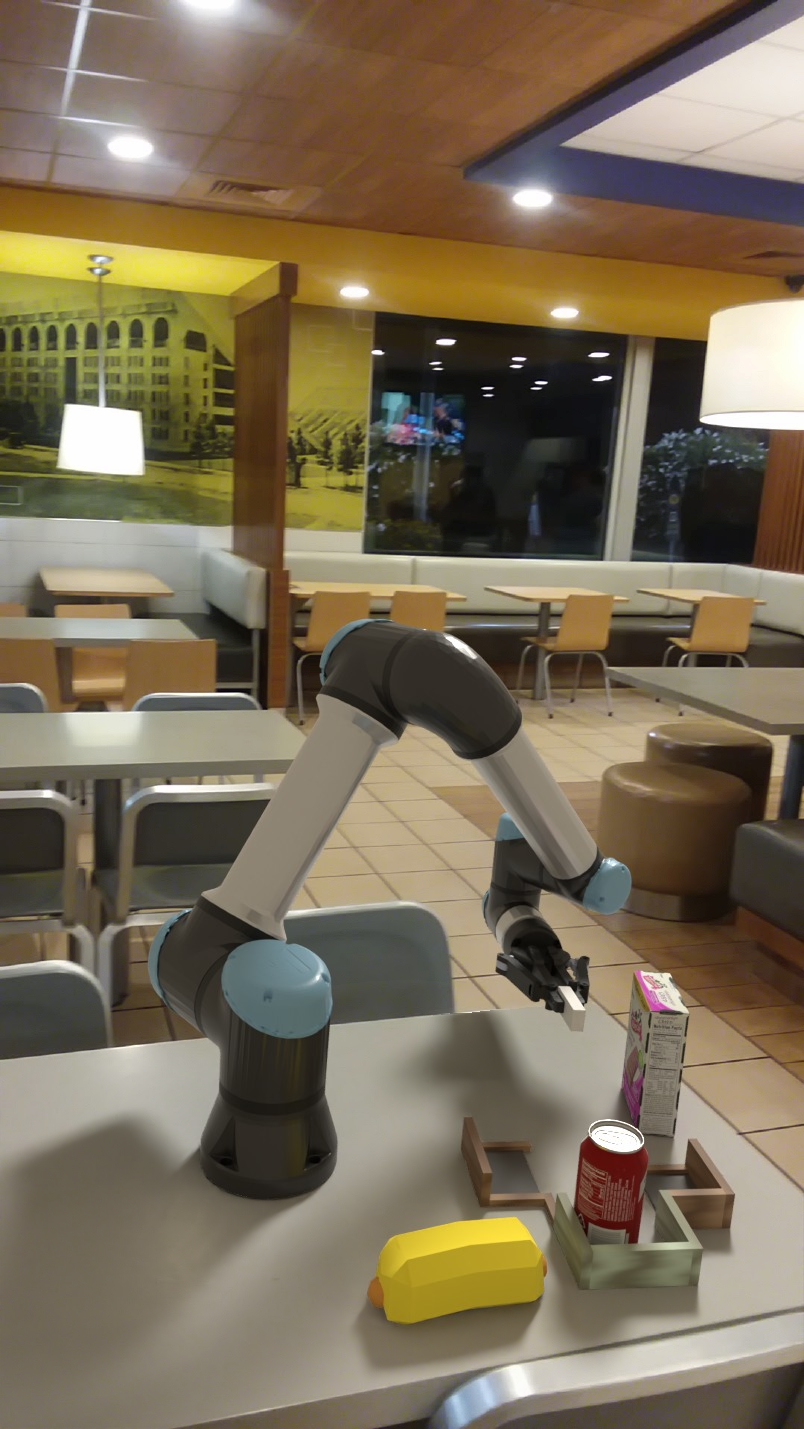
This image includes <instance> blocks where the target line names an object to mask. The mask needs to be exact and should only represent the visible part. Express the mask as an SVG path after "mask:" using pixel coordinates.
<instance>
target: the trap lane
mask: <svg viewBox="0 0 804 1429" xmlns="http://www.w3.org/2000/svg"><path fill="white" fill-rule="evenodd" d="M460 1149H461V1153H462V1156H463V1160H464V1162H465V1165H466V1168H467V1172H468V1175H469V1178H470V1181H471V1183H472V1187H473V1190H474V1193H475V1196H476V1199H477V1202H478V1205H479V1208H497V1207H498V1208H501V1207H503V1208H505V1207H535V1206H544V1209H545V1211H546V1214H547V1217H548V1218H549V1221H550V1223H551V1226H552V1228H553V1230H554V1233H555V1235H556V1238H557V1240H558V1243H559V1246H560V1247H561V1250H562V1252H563V1255H564V1256H565V1259H566V1261H567V1262H566V1263H567V1264H568V1266H569V1269H570V1272H571V1274H572V1276H573V1278H574V1280H575V1284H576V1285H577V1288H578V1290H583V1291H584V1290H604V1289H606V1290H609V1289H630V1288H634V1289H635V1288H654V1287H655V1288H656V1287H678V1286H679V1287H680V1286H683V1287H684V1286H698V1285H699V1281H700V1275H701V1266H702V1261H703V1255H704V1254H703V1252H704V1248H703V1246H702V1244H701V1243H700V1242H701V1241H699V1239H698V1237H697V1236H696V1234H695V1233H694V1230H713V1229H715V1230H716V1229H717V1230H718V1229H731V1225H732V1218H733V1212H734V1206H735V1205H734V1204H735V1198H736V1193H735V1191H734V1190H733V1189H732V1187H731V1186H730V1184H729V1183H728V1181H727V1180H726V1178H725V1177H724V1176H723V1174H722V1173H721V1172H720V1170H719V1169H718V1167H717V1165H716V1164H715V1163H714V1162H713V1160H712V1159H711V1157H710V1156H709V1154H708V1153H707V1151H706V1150H705V1149H704V1147H703V1146H702V1144H701V1143H700V1142H699V1140H698V1138H688V1139H687V1146H686V1153H685V1160H684V1163H671V1164H670V1163H669V1164H665V1163H664V1164H648V1168H647V1175H646V1183H645V1191H644V1193H645V1195H646V1196H647V1197H648V1199H649V1201H650V1203H651V1204H652V1206H653V1209H654V1210H655V1216H654V1224H653V1225H654V1226H655V1228H656V1229H657V1231H658V1233H659V1235H660V1236H661V1238H662V1241H663V1242H648V1243H647V1242H645V1243H643V1242H641V1243H639V1242H638V1244H609V1245H590V1244H589V1241H588V1239H587V1237H586V1235H585V1233H584V1230H583V1228H582V1226H581V1224H580V1222H579V1219H578V1217H577V1215H576V1213H575V1210H574V1208H573V1204H572V1202H571V1199H570V1197H569V1195H568V1193H567V1192H556V1198H554V1196H553V1193H552V1192H541V1191H540V1190H539V1187H538V1184H537V1181H536V1180H535V1177H534V1175H533V1172H532V1170H531V1168H530V1165H529V1162H528V1161H527V1158H526V1155H525V1154H524V1153H531V1151H532V1145H531V1142H530V1141H529V1140H516V1141H515V1140H513V1141H509V1140H507V1141H502V1140H501V1141H482V1139H481V1137H480V1135H479V1132H478V1129H477V1126H476V1123H475V1121H474V1118H473V1116H463V1122H462V1133H461V1145H460Z"/></svg>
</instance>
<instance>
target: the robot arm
mask: <svg viewBox="0 0 804 1429" xmlns="http://www.w3.org/2000/svg"><path fill="white" fill-rule="evenodd" d="M319 668H320V669H321V673H319V678H320V683H321V685H322V687H321V688H320V690H319V692H318V694H317V695H316V697H315V700H316V703H317V707H318V710H319V715H318V718H317V720H316V721H315V723H314V724H313V726H312V728H311V729H310V732H309V733H308V735H307V737H306V738H305V740H304V742H303V743H302V745H301V747H300V749H299V750H298V752H297V754H296V756H295V757H294V759H293V760H292V762H291V764H290V766H289V767H288V769H287V771H286V773H285V774H284V776H283V778H282V780H281V782H280V783H279V784H278V786H277V788H276V790H275V792H274V793H273V795H272V797H271V798H270V800H269V802H268V803H267V806H266V807H265V809H264V810H263V813H262V814H261V816H260V817H259V819H258V821H257V823H256V824H255V826H254V827H253V829H252V831H251V833H250V835H249V836H248V838H247V839H246V842H245V843H244V845H243V846H242V848H241V850H240V852H239V853H238V855H237V857H236V859H235V860H234V862H233V864H232V866H231V867H230V869H229V871H227V872H228V873H227V874H226V876H225V877H224V879H223V881H222V883H220V885H219V886H217V887H216V888H212V889H208V890H204V891H203V892H201V894H200V895H199V897H198V899H197V901H196V902H195V904H194V906H193V908H187V909H186V908H185V909H183V910H181V911H180V913H178V914H173V915H172V916H170V917H169V918H168V919H167V920H165V922H164V923H162V925H161V926H160V927H159V929H158V930H157V932H156V934H155V936H154V937H153V939H152V942H151V945H150V948H149V952H148V958H147V971H148V976H149V981H150V983H151V985H152V986H151V987H152V988H153V989H154V991H155V992H156V994H157V995H158V996H159V998H160V999H161V1000H162V1001H163V1002H164V1004H165V1005H166V1006H167V1007H168V1008H169V1010H170V1011H171V1012H173V1013H174V1014H176V1015H178V1016H180V1017H181V1018H183V1019H184V1020H185V1021H186V1022H188V1024H190V1025H191V1026H192V1027H194V1029H196V1030H197V1031H198V1032H199V1033H201V1034H202V1035H203V1036H204V1037H206V1038H207V1039H208V1040H209V1041H211V1042H212V1043H213V1044H214V1045H215V1046H217V1048H218V1049H219V1053H220V1054H219V1078H218V1080H219V1082H218V1093H217V1096H216V1098H215V1100H214V1103H213V1106H212V1108H211V1111H210V1113H209V1116H208V1119H207V1120H206V1124H205V1126H204V1129H203V1131H202V1134H201V1138H200V1144H199V1145H200V1149H199V1164H200V1168H201V1170H202V1172H203V1173H204V1175H205V1177H206V1178H207V1179H208V1180H209V1181H210V1182H211V1183H212V1184H214V1185H215V1186H217V1187H218V1188H220V1189H222V1190H224V1192H225V1191H226V1192H228V1193H230V1194H233V1195H237V1196H239V1197H245V1198H249V1199H257V1200H277V1199H286V1198H290V1197H295V1196H299V1195H302V1194H305V1193H307V1192H310V1191H311V1190H313V1189H315V1188H317V1187H319V1186H321V1184H323V1183H324V1182H325V1181H326V1180H328V1179H329V1177H330V1176H331V1175H332V1173H333V1172H334V1171H335V1169H336V1166H337V1159H338V1145H339V1144H338V1143H339V1142H338V1135H337V1134H338V1133H337V1131H336V1128H335V1123H334V1120H333V1117H332V1113H331V1110H330V1106H329V1103H328V1100H327V1096H326V1086H327V1085H326V1084H327V1081H326V1079H327V1071H328V1069H327V1068H328V1057H329V1056H328V1055H329V1041H330V1031H331V1030H330V1028H331V1018H332V1017H331V1015H332V1010H333V1003H334V1002H333V995H332V978H331V974H330V971H329V969H328V967H327V965H326V963H325V962H324V960H323V959H322V958H320V957H319V956H318V954H316V953H315V952H314V951H311V950H310V949H309V948H306V947H305V946H303V945H300V944H297V943H290V944H288V943H287V941H288V939H287V934H286V931H285V927H284V920H285V918H286V916H287V915H288V914H289V911H290V909H291V908H292V906H293V905H294V902H295V900H296V898H298V895H299V894H300V891H301V890H302V888H303V887H304V885H305V883H306V881H307V879H308V877H309V876H310V874H311V872H312V870H313V869H314V866H315V865H316V863H317V861H318V859H319V858H320V856H321V854H322V853H323V851H324V849H325V848H326V845H327V844H328V842H329V840H330V839H331V837H332V835H333V833H334V831H336V830H335V829H337V826H338V824H339V822H340V821H341V819H342V818H343V817H344V816H343V815H345V812H346V811H347V809H348V807H349V804H350V803H351V801H352V800H353V798H354V797H355V796H354V795H355V794H356V792H357V790H358V789H359V787H360V785H361V784H362V782H363V780H364V778H365V776H366V774H368V772H369V770H370V768H371V766H372V764H373V762H375V759H376V757H377V756H378V753H379V752H380V751H381V750H382V749H385V748H388V747H392V746H395V745H398V743H399V741H400V739H402V738H401V737H402V736H403V734H404V733H405V731H406V729H407V727H408V725H412V726H417V727H420V728H422V729H424V730H426V731H429V732H430V733H431V734H433V735H435V736H437V737H439V738H440V739H441V740H443V741H444V742H445V743H446V744H447V745H448V747H449V748H450V749H451V750H452V752H453V754H455V756H457V758H459V759H461V760H463V761H466V762H467V761H468V762H471V764H472V766H473V767H474V768H475V770H476V771H477V773H478V775H480V777H481V778H482V781H484V783H485V784H486V785H487V786H488V788H489V790H490V791H491V793H492V794H493V795H494V797H495V798H496V799H497V801H498V803H500V805H501V806H502V808H503V809H504V811H505V812H503V813H502V814H501V815H500V817H499V818H498V823H497V828H496V834H495V838H494V847H493V848H494V849H493V856H492V858H493V859H492V869H491V879H490V884H489V888H488V889H487V890H486V892H485V893H484V895H483V898H482V900H481V912H482V916H483V919H484V923H485V925H486V927H488V930H489V931H490V932H491V934H492V935H493V937H494V939H495V940H496V942H497V943H498V945H499V948H501V950H502V952H498V953H496V962H495V973H497V974H499V976H503V977H504V978H506V979H507V980H508V981H509V982H510V983H511V984H512V985H514V986H515V988H516V989H518V990H519V991H520V992H521V993H522V994H523V995H524V996H525V997H526V998H527V999H528V1000H530V1001H531V1002H533V1003H539V1002H540V1001H541V1000H543V1001H544V1003H545V1005H544V1009H545V1010H546V1011H549V1012H550V1011H551V1012H552V1011H553V1013H556V1014H560V1016H561V1017H562V1019H563V1021H564V1022H565V1023H566V1026H567V1027H568V1029H569V1030H570V1031H571V1032H578V1033H579V1032H581V1033H582V1032H584V1028H585V1019H586V1011H587V1010H586V1008H585V1005H586V1004H588V1002H589V994H590V987H591V986H590V985H591V984H590V983H591V982H590V979H589V970H590V968H589V966H590V959H591V958H590V957H589V956H587V955H581V956H580V957H575V958H571V957H572V956H571V954H570V953H569V952H568V951H566V950H564V948H563V946H562V943H561V940H560V938H559V937H558V935H557V933H556V932H555V931H554V930H553V928H552V926H551V925H550V924H549V923H548V921H547V920H546V918H545V917H544V915H543V913H541V912H540V903H541V902H540V901H541V895H542V891H545V892H547V893H549V894H551V895H553V896H556V897H558V898H560V899H563V900H564V901H567V902H570V903H571V904H574V905H577V906H578V907H581V908H583V909H584V910H585V911H592V912H595V913H597V914H600V915H603V916H609V915H612V914H613V915H614V914H615V913H617V912H618V911H620V909H622V907H623V905H624V904H625V902H626V901H627V899H628V898H629V896H630V894H631V889H632V875H631V871H630V869H629V868H628V867H627V865H625V864H624V863H622V862H619V861H618V860H616V859H615V858H614V857H607V856H605V855H604V854H603V852H602V850H600V848H599V846H598V845H597V843H596V842H595V840H594V838H593V837H592V835H591V834H590V833H589V831H588V829H587V828H586V826H585V824H584V823H583V822H582V820H581V818H580V816H579V815H578V813H577V812H576V810H575V809H574V807H573V806H572V804H571V803H570V800H569V799H568V798H567V796H566V794H565V792H564V791H563V789H562V788H561V787H560V785H559V784H558V782H557V780H556V779H555V778H554V776H553V774H552V772H551V770H549V768H548V766H547V765H546V763H545V761H544V760H543V758H542V757H541V755H540V753H539V752H538V750H537V748H536V747H535V745H534V744H533V743H532V740H531V739H530V737H529V735H528V734H527V733H526V731H525V729H524V728H523V724H524V723H523V722H524V714H523V712H522V709H521V708H520V706H519V705H518V702H517V701H516V699H515V698H514V697H513V695H512V693H511V692H510V690H509V689H508V688H507V686H506V684H504V682H503V681H502V679H501V678H500V677H499V675H498V674H497V673H496V672H495V670H493V668H492V667H491V666H490V664H488V663H487V661H485V659H483V657H482V656H481V655H480V654H478V653H477V651H475V650H474V649H473V648H472V647H471V646H469V645H468V644H467V643H466V642H464V641H463V640H461V639H459V638H458V637H456V636H454V635H452V634H450V633H447V632H444V631H440V630H439V631H438V630H434V629H432V630H431V629H427V628H423V627H416V626H412V625H407V624H402V623H398V622H397V621H394V620H390V619H386V618H385V619H384V618H378V619H377V618H376V619H373V618H372V619H371V618H363V619H362V618H361V619H357V620H354V621H350V622H349V623H347V624H346V625H343V626H342V627H340V628H339V629H338V630H337V631H336V632H334V633H333V635H332V636H331V638H330V639H329V640H328V642H326V645H325V647H324V648H323V651H322V653H321V657H320V661H319ZM569 968H570V970H571V971H572V972H573V973H572V976H573V977H575V978H574V979H573V977H572V976H571V974H570V973H569V971H568V969H569Z"/></svg>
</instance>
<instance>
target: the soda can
mask: <svg viewBox="0 0 804 1429" xmlns="http://www.w3.org/2000/svg"><path fill="white" fill-rule="evenodd" d="M587 1131H588V1132H587V1134H586V1135H585V1136H584V1138H582V1140H581V1142H580V1144H579V1145H580V1146H579V1152H578V1153H579V1154H578V1163H577V1170H576V1171H577V1173H576V1180H575V1189H574V1197H573V1204H572V1206H573V1208H574V1210H575V1213H576V1215H577V1217H578V1219H579V1222H580V1224H581V1226H582V1228H583V1230H584V1233H585V1235H586V1237H587V1239H588V1241H589V1244H590V1245H609V1244H639V1238H640V1230H641V1222H642V1221H641V1220H642V1215H643V1206H644V1197H645V1183H646V1175H647V1168H648V1165H649V1158H650V1157H649V1153H648V1151H647V1149H646V1148H645V1145H644V1144H645V1138H644V1135H642V1134H641V1132H640V1131H639V1130H637V1129H636V1128H635V1126H633V1125H631V1124H629V1123H627V1122H624V1121H620V1120H617V1119H616V1120H615V1119H601V1120H598V1121H595V1122H593V1123H592V1124H590V1126H589V1128H588V1130H587Z"/></svg>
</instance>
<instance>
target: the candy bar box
mask: <svg viewBox="0 0 804 1429" xmlns="http://www.w3.org/2000/svg"><path fill="white" fill-rule="evenodd" d="M630 993H631V994H630V1004H629V1010H628V1011H629V1012H628V1021H627V1022H628V1024H627V1025H628V1026H627V1031H626V1032H627V1033H626V1042H625V1050H624V1061H623V1069H622V1078H621V1084H620V1085H621V1089H622V1093H623V1095H624V1098H625V1101H626V1103H627V1107H628V1110H629V1112H630V1117H631V1120H632V1122H633V1125H634V1126H633V1127H635V1128H636V1129H637V1130H639V1131H640V1132H641V1134H642V1135H643V1136H657V1137H668V1138H669V1137H671V1138H674V1137H675V1135H676V1127H677V1120H678V1119H677V1118H678V1110H679V1103H680V1095H681V1085H682V1080H683V1079H682V1078H683V1071H684V1070H683V1069H684V1061H685V1055H686V1044H687V1036H688V1028H689V1020H690V1012H689V1009H688V1007H687V1006H686V1003H685V1002H684V1000H683V996H682V995H681V993H680V991H679V988H678V987H677V985H676V983H675V980H674V979H673V976H672V975H671V973H669V972H656V971H646V970H633V976H632V985H631V992H630Z"/></svg>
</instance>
